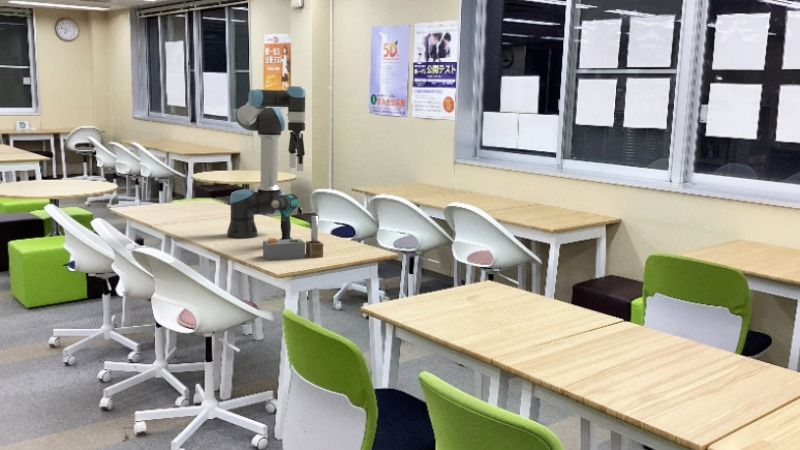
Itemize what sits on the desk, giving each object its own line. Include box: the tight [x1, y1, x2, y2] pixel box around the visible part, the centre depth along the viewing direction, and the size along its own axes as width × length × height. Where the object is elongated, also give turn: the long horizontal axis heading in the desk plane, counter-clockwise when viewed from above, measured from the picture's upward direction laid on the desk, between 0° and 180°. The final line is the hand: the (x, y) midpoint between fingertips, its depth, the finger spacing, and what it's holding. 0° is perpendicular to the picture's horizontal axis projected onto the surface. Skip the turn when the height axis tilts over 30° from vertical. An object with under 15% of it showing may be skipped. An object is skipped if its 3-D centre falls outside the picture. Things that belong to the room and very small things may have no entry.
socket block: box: [262, 238, 306, 261], centre depth 321 cm, size 9×17×7 cm, turn 112°
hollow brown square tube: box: [305, 239, 324, 258], centre depth 327 cm, size 8×6×6 cm
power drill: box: [270, 193, 299, 240], centre depth 341 cm, size 26×9×25 cm, turn 168°
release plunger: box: [268, 237, 278, 243], centre depth 319 cm, size 3×3×8 cm
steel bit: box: [310, 215, 319, 244], centre depth 326 cm, size 3×3×18 cm
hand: (296, 169), depth 322 cm, fingers open, 13 cm apart
